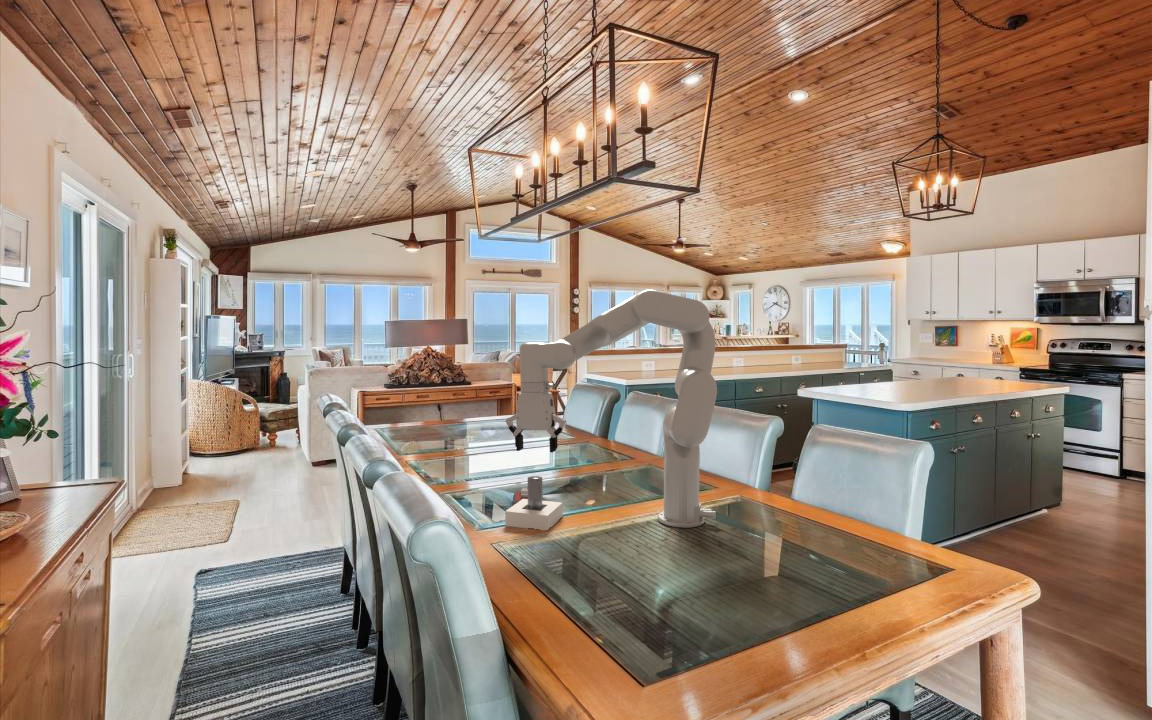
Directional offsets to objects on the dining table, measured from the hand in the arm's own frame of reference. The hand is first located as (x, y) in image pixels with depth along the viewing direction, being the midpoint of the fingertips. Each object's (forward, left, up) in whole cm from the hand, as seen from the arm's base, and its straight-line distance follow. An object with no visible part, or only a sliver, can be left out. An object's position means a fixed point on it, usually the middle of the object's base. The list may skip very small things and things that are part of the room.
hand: (536, 450), depth 162 cm
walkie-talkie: (+9, -16, -20) cm, 28 cm away
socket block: (0, 0, -20) cm, 20 cm away
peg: (0, 0, -20) cm, 20 cm away
